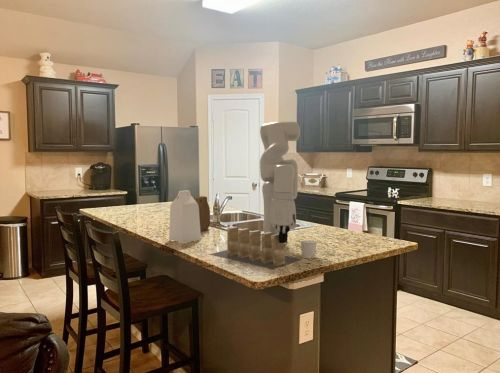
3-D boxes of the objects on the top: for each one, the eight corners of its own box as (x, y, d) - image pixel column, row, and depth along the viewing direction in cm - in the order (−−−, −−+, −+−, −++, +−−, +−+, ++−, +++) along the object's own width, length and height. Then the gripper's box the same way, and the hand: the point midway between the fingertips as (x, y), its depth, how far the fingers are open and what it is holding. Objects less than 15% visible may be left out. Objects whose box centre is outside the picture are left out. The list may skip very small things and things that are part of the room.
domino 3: (261, 262, 168) (261, 233, 167) (269, 260, 171) (269, 231, 170) (265, 263, 166) (265, 234, 165) (272, 261, 170) (272, 232, 169)
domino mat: (240, 248, 197) (240, 246, 197) (302, 260, 173) (302, 259, 173) (209, 255, 182) (209, 254, 182) (272, 270, 158) (272, 269, 158)
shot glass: (301, 255, 182) (301, 239, 182) (317, 256, 180) (317, 240, 180) (299, 259, 176) (299, 243, 175) (315, 260, 174) (315, 244, 173)
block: (198, 232, 238) (198, 197, 236) (189, 230, 242) (189, 196, 241) (211, 229, 246) (211, 196, 244) (203, 228, 251) (202, 195, 249)
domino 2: (249, 260, 172) (249, 231, 171) (257, 257, 176) (257, 230, 175) (253, 260, 171) (252, 232, 170) (260, 258, 174) (260, 230, 173)
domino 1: (238, 257, 176) (238, 229, 175) (246, 255, 180) (246, 228, 179) (241, 258, 175) (241, 230, 174) (249, 256, 179) (249, 228, 178)
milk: (182, 243, 207) (182, 192, 205) (169, 240, 214) (168, 191, 212) (201, 240, 216) (200, 190, 214) (187, 237, 223) (186, 189, 221)
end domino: (227, 255, 181) (227, 228, 180) (235, 253, 184) (235, 226, 183) (230, 255, 179) (230, 228, 178) (238, 253, 183) (238, 227, 182)
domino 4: (273, 265, 163) (270, 235, 163) (281, 263, 167) (278, 233, 167) (277, 265, 162) (274, 235, 162) (285, 263, 166) (282, 233, 166)
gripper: (262, 195, 163) (262, 241, 165) (293, 198, 153) (293, 246, 155) (274, 194, 169) (274, 238, 170) (304, 196, 159) (304, 243, 160)
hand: (283, 242), depth 163 cm, fingers closed
